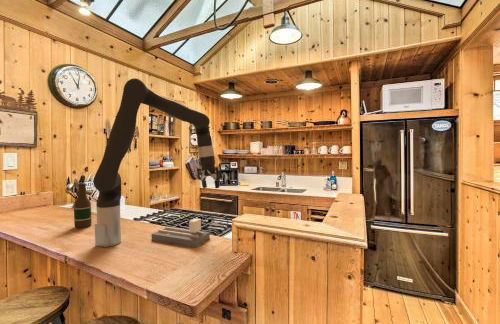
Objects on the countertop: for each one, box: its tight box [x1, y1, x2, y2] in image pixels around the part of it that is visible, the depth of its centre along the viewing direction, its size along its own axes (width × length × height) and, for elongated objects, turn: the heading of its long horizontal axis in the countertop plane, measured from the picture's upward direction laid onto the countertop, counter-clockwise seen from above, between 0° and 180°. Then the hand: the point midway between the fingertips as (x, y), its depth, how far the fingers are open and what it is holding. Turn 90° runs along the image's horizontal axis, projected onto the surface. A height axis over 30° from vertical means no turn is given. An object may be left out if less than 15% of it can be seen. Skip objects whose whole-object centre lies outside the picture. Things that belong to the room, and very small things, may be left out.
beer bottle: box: [73, 182, 92, 230], centre depth 134 cm, size 8×8×24 cm
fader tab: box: [188, 218, 202, 235], centre depth 112 cm, size 5×3×7 cm, turn 159°
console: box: [151, 226, 211, 249], centre depth 115 cm, size 12×24×4 cm, turn 69°
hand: (211, 188), depth 121 cm, fingers open, 8 cm apart
